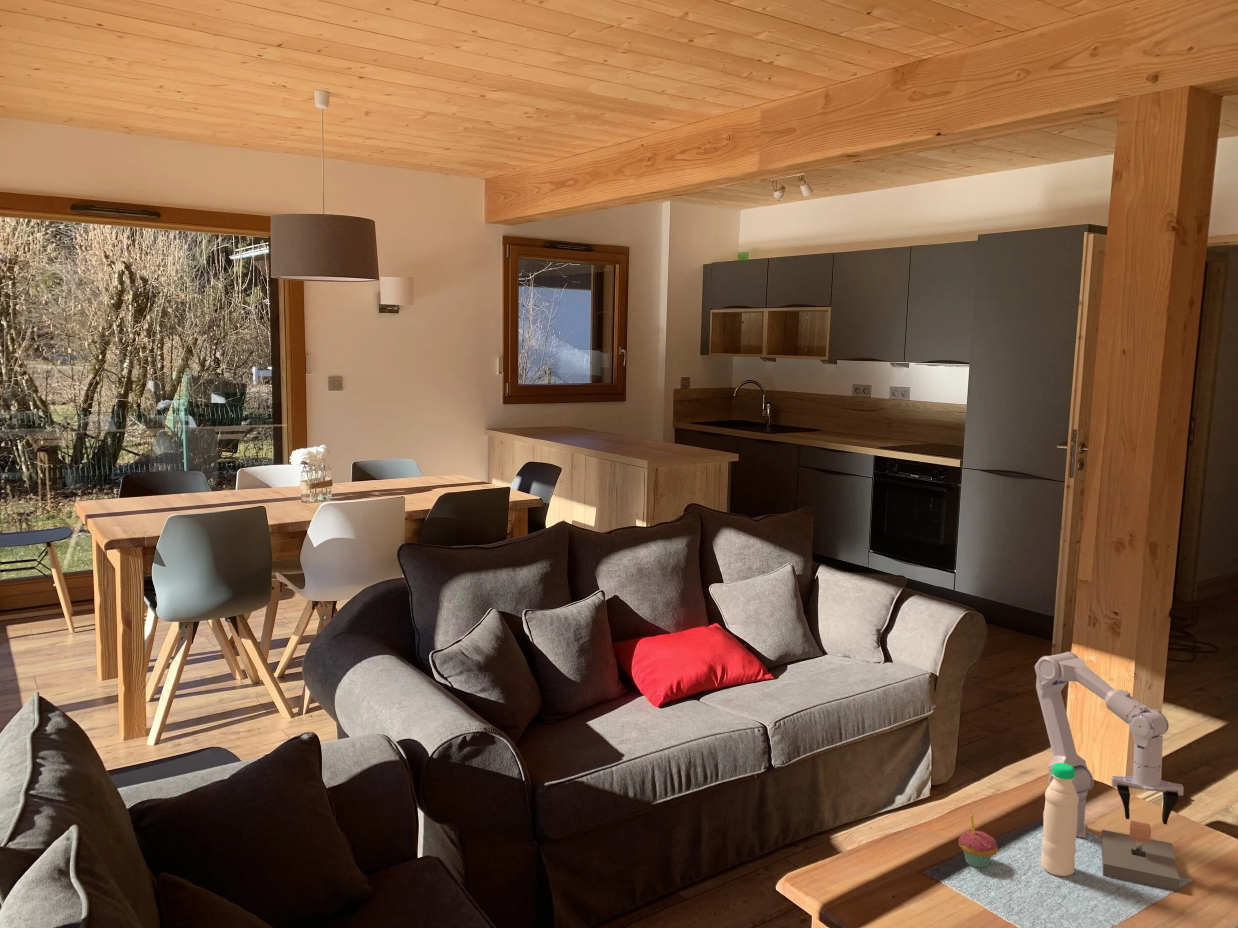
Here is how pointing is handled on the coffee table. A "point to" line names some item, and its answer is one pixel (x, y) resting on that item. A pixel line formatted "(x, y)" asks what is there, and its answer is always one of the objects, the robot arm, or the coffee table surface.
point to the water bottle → (1060, 822)
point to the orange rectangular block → (1140, 834)
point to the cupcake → (977, 846)
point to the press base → (1139, 861)
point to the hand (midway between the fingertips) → (1145, 819)
